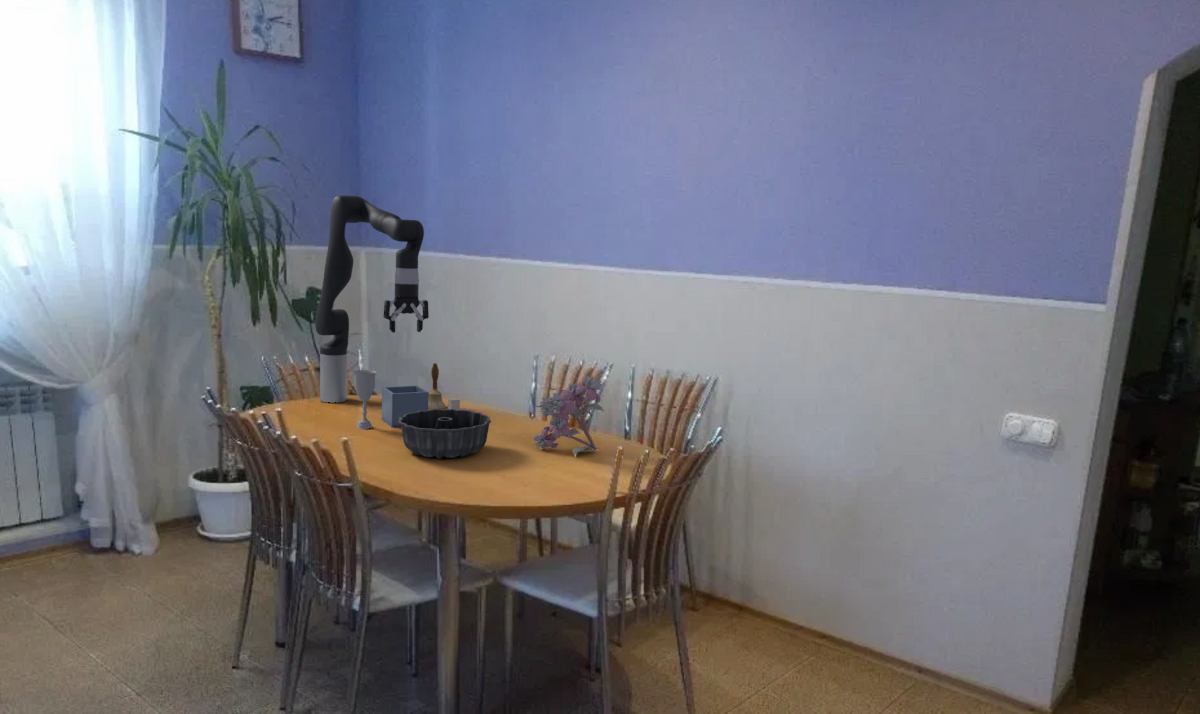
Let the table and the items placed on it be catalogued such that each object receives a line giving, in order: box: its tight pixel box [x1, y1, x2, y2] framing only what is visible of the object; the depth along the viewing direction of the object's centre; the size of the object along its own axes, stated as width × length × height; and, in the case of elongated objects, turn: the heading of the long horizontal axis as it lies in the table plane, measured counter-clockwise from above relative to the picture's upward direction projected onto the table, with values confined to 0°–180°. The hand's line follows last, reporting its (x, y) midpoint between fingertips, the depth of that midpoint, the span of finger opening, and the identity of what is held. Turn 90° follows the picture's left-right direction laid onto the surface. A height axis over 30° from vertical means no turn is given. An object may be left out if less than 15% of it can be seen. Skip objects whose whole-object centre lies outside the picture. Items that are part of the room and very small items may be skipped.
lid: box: [447, 397, 468, 410], centre depth 291 cm, size 13×13×7 cm
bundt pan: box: [399, 408, 492, 460], centre depth 249 cm, size 26×26×10 cm
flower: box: [531, 373, 605, 456], centre depth 254 cm, size 20×22×25 cm
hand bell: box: [428, 363, 447, 410], centre depth 307 cm, size 8×8×16 cm
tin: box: [381, 385, 430, 428], centre depth 282 cm, size 12×12×11 cm
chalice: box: [352, 369, 377, 430], centre depth 272 cm, size 7×7×18 cm
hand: (406, 332), depth 278 cm, fingers open, 8 cm apart
